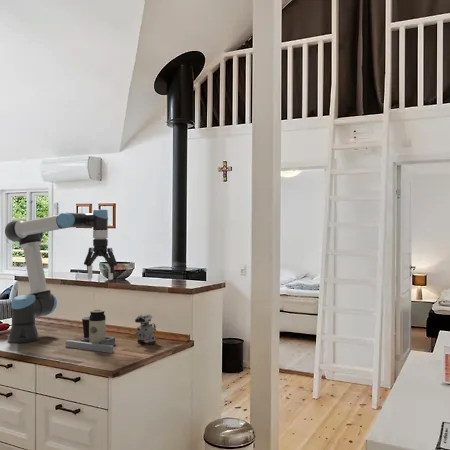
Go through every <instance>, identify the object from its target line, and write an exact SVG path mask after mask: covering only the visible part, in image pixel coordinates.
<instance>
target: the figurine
mask: <svg viewBox="0 0 450 450" xmlns="http://www.w3.org/2000/svg"><path fill="white" fill-rule="evenodd" d="M152 318H153V315H151V314H143V315H142V314H140V315H138V316H137V317H136V318H135V319H134V322H135V323H138V324H139V323H140V325H139V326H137V328H136V329H137V330H135V331H136V332H134V337H137V341H136V342H137V343H139V344H140V343H143V342H145V341H148V345H149V346H150V345H151V346H152V345H155V344H157V343H156V342H157V341H156V336H155V334H154V331H155V332H156V331H157V327H156V324H155V323H154V322H152V323H150V322H151V321H152ZM137 334H138V335H137Z"/></svg>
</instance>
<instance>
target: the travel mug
mask: <svg viewBox="0 0 450 450" xmlns="http://www.w3.org/2000/svg"><path fill="white" fill-rule="evenodd" d="M89 312H90V314H89V316H88V317H89V343H96V344H99V342H101V341H104V340H105V336H106V315H105V312H106V310H105V309H102V308H95V309H90V310H89Z"/></svg>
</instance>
